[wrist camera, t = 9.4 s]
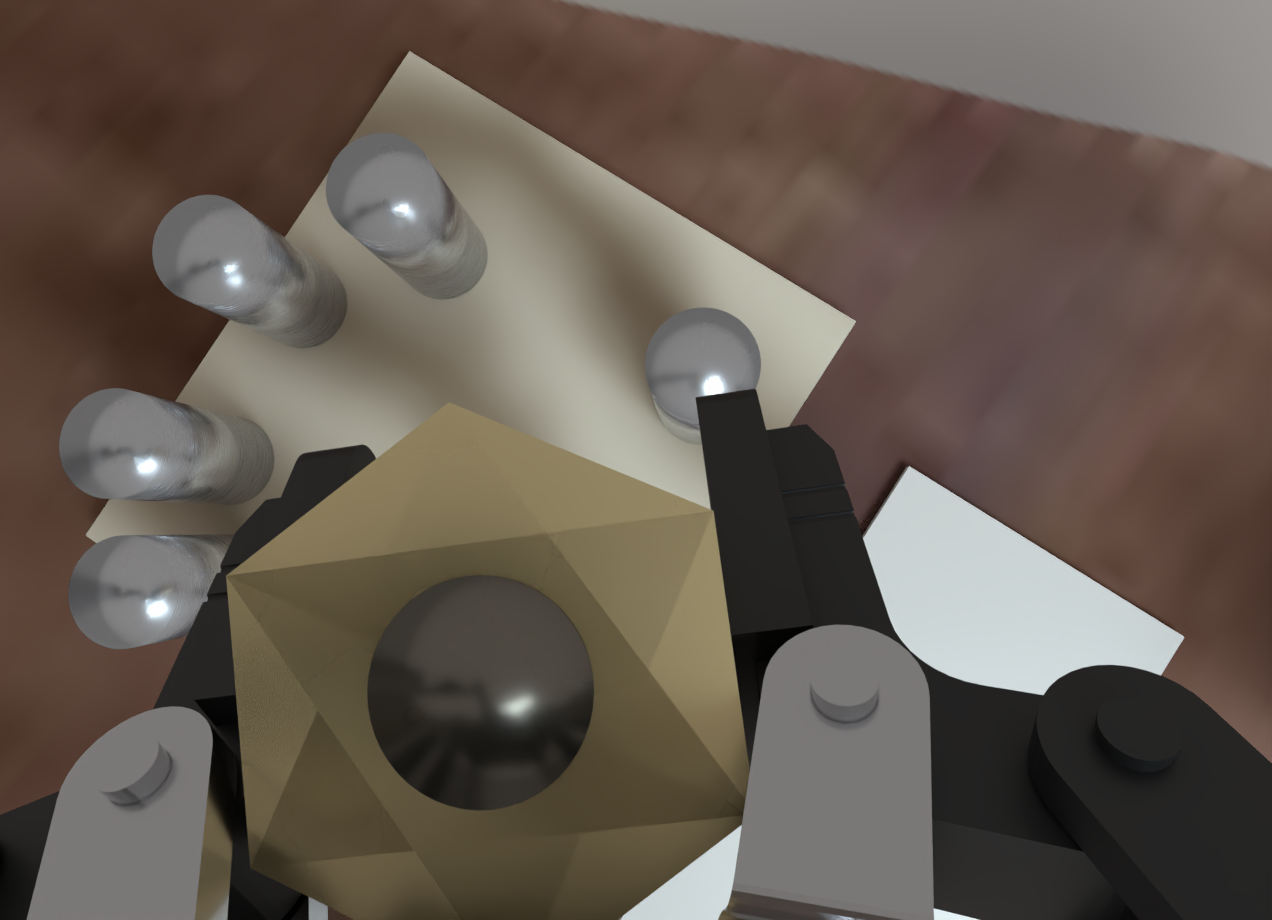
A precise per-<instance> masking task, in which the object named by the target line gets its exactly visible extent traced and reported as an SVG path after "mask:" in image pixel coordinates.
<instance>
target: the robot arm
mask: <svg viewBox="0 0 1272 920" xmlns="http://www.w3.org/2000/svg"><path fill="white" fill-rule="evenodd" d="M695 398H696V405H697V413H698V420H699V428H700V435H701V442H702V450H703V457H704V464H705V472H706V479H707V486H708V494H709V501H710V508H711V510H713V511H714V518H715V525H716V532H717V539H718V547H719V554H720V561H721V568H722V575H723V582H724V590H725V597H726V604H727V611H728V618H729V625H730V633H731V640H732V647H733V654H734V661H735V668H736V676H737V683H738V690H739V697H740V704H741V711H742V719H743V726H744V733H745V740H746V747H747V754H748V762H749V769H750V773H749V780H748V787H747V794H746V800H745V807H744V814H743V820H742V827H741V834H740V841H739V847H738V854H737V861H736V868H735V874H734V881H733V886H732V891H731V896H730V899H729V903H728V905H727V907H726V908H725V909H724V910H722V912H721V914H720V916H719V918H718V920H934V909H938V910H942V911H946V912H950V913H954V914H958V915H963V916H967V917H971V918H975V919H979V920H1272V763H1271V762H1270V761H1268V760H1267V759H1266V758H1265V757H1264V756H1263V755H1262V754H1261V753H1260V752H1259V751H1258V750H1256V749H1255V748H1254V747H1253V746H1252V745H1251V744H1250V743H1249V742H1248V741H1247V740H1246V739H1244V738H1243V737H1242V736H1241V735H1240V734H1239V733H1238V732H1237V731H1236V730H1235V729H1234V728H1232V727H1231V726H1230V725H1229V724H1228V723H1227V722H1226V721H1225V720H1224V719H1223V718H1222V717H1220V716H1219V715H1218V714H1217V713H1216V712H1215V711H1214V710H1213V709H1212V708H1211V707H1210V706H1209V705H1207V704H1206V703H1205V702H1204V701H1202V700H1201V699H1200V698H1199V697H1198V696H1196V695H1195V694H1194V693H1192V692H1191V691H1189V690H1187V689H1186V688H1184V687H1183V686H1181V685H1180V684H1178V683H1176V682H1174V681H1172V680H1169V679H1167V678H1165V677H1163V676H1161V675H1158V674H1155V673H1152V672H1149V671H1147V670H1142V669H1138V668H1134V667H1129V666H1120V665H1095V666H1089V667H1083V668H1080V669H1077V670H1074V671H1071V672H1069V673H1067V674H1066V675H1064V676H1062V677H1060V678H1059V679H1057V680H1056V681H1055V682H1054V683H1053V684H1052V685H1051V686H1049V688H1048V689H1047V691H1046V692H1045V694H1044V695H1039V694H1033V693H1027V692H1021V691H1015V690H1009V689H1003V688H997V687H991V686H984V685H979V684H975V683H970V682H966V681H963V680H960V679H957V678H954V677H951V676H949V675H947V674H945V673H942V672H940V671H938V670H936V669H934V668H933V667H931V666H930V665H928V664H927V663H925V662H924V661H922V660H921V659H920V658H918V657H917V656H916V655H915V654H914V653H912V652H911V651H910V650H909V649H908V647H907V646H906V645H905V644H904V643H903V642H902V641H901V639H900V638H899V636H898V635H897V633H896V632H895V630H894V628H893V625H892V623H891V621H890V618H889V615H888V612H887V609H886V606H885V603H884V600H883V597H882V594H881V591H880V588H879V585H878V582H877V579H876V576H875V573H874V570H873V567H872V564H871V561H870V558H869V555H868V552H867V549H866V546H865V543H864V540H863V537H862V534H861V531H860V528H859V525H858V522H857V519H856V517H855V516H854V510H853V507H852V503H851V500H850V497H849V494H848V491H847V489H845V482H844V479H843V476H842V473H841V470H840V467H839V464H838V461H837V458H836V455H835V452H834V450H833V449H832V448H831V447H830V446H829V445H828V444H827V443H826V442H825V441H824V440H823V439H822V438H820V437H819V436H818V435H817V434H816V433H815V432H814V431H813V430H812V429H811V428H810V427H809V426H808V425H807V424H806V425H798V426H791V427H784V428H777V429H770V430H766V427H765V423H764V419H763V415H762V411H761V406H760V402H759V398H758V394H757V391H756V389H749V390H742V391H735V392H728V393H721V394H714V395H707V396H700V397H695ZM375 459H376V457H375V455H374V454H373V452H372V451H371V449H370V448H369V447H367V446H366V445H363V444H362V445H355V446H348V447H341V448H334V449H328V450H321V451H314V452H307V453H303V454H301V455H300V456H299V457H298V459H297V461H296V463H295V465H294V467H293V470H292V472H291V474H290V477H289V479H288V481H287V484H286V486H285V488H284V491H283V493H282V495H281V498H274V499H266V500H265V501H264V502H263V503H262V504H261V506H260V507H259V508H258V509H257V510H256V511H255V512H254V513H253V514H252V515H251V516H250V517H249V518H248V519H247V520H246V521H245V523H244V524H243V525H242V526H241V527H240V528H239V529H238V530H237V531H236V533H235V535H234V537H233V539H232V541H231V543H230V545H229V548H228V550H227V552H226V554H225V556H224V558H223V560H222V563H221V565H220V568H221V572H220V573H216V575H215V578H214V580H213V582H212V584H211V586H210V588H209V590H208V593H207V597H208V600H207V602H203V603H202V605H201V608H200V610H199V612H198V614H197V616H196V618H195V620H194V623H193V625H192V627H191V629H190V631H189V633H188V635H187V638H186V640H185V642H184V644H183V646H182V648H181V650H180V653H179V655H178V657H177V659H176V661H175V663H174V665H173V668H172V670H171V672H170V674H169V676H168V678H167V680H166V683H165V685H164V687H163V689H162V691H161V693H160V695H159V698H158V700H157V702H156V704H155V706H154V708H153V710H150V711H146V712H144V713H141V714H139V715H136V716H134V717H132V718H130V719H128V720H126V721H124V722H122V723H120V724H119V725H117V726H116V727H114V728H113V729H111V730H110V731H108V732H107V733H106V734H104V735H103V736H102V737H101V738H99V739H98V740H97V741H96V742H95V743H94V744H93V745H92V746H91V747H90V748H88V749H87V750H86V751H85V753H84V754H83V755H82V756H81V757H80V758H79V760H78V761H77V762H76V763H75V765H74V766H73V768H72V769H71V771H70V772H69V773H68V775H67V777H66V779H65V781H64V783H63V785H62V787H61V789H60V791H59V792H56V793H54V794H51V795H49V796H46V797H44V798H41V799H39V800H36V801H34V802H31V803H29V804H26V805H24V806H21V807H19V808H16V809H14V810H12V811H9V812H7V813H4V814H2V815H0V920H328V913H327V906H326V905H324V904H322V903H320V902H318V901H316V900H314V899H312V898H310V897H308V896H306V895H304V894H302V893H300V892H298V891H296V890H294V889H292V888H290V887H288V886H286V885H284V884H282V883H280V882H278V881H276V880H274V879H272V878H269V877H267V876H265V875H263V874H261V873H259V872H257V871H255V870H253V869H251V868H250V857H249V845H248V833H247V821H246V809H245V797H244V785H243V773H242V761H241V749H240V737H239V725H238V713H237V701H236V689H235V676H234V664H233V652H232V640H231V628H230V616H229V604H228V592H227V580H226V575H228V574H229V573H230V572H232V571H233V570H234V569H235V568H237V567H238V566H239V565H241V564H242V563H243V562H244V561H246V560H247V559H248V558H250V557H251V556H252V555H253V554H255V553H256V552H257V551H259V550H260V549H261V548H262V547H264V546H265V545H266V544H268V543H269V542H270V541H271V540H273V539H274V538H275V537H277V536H278V535H279V534H280V533H282V532H283V531H284V530H286V529H287V528H288V527H289V526H291V525H292V524H293V523H295V522H296V521H297V520H298V519H300V518H301V517H302V516H304V515H305V514H306V513H307V512H309V511H310V510H311V509H313V508H314V507H315V506H316V505H318V504H319V503H320V502H321V501H323V500H324V499H325V498H327V497H328V496H329V495H330V494H332V493H333V492H334V491H336V490H337V489H338V488H339V487H341V486H342V485H343V484H345V483H346V482H347V481H348V480H350V479H351V478H352V477H354V476H355V475H356V474H357V473H359V472H360V471H361V470H363V469H364V468H365V467H366V466H368V465H369V464H370V463H372V462H373V461H374V460H375Z"/></svg>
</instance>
